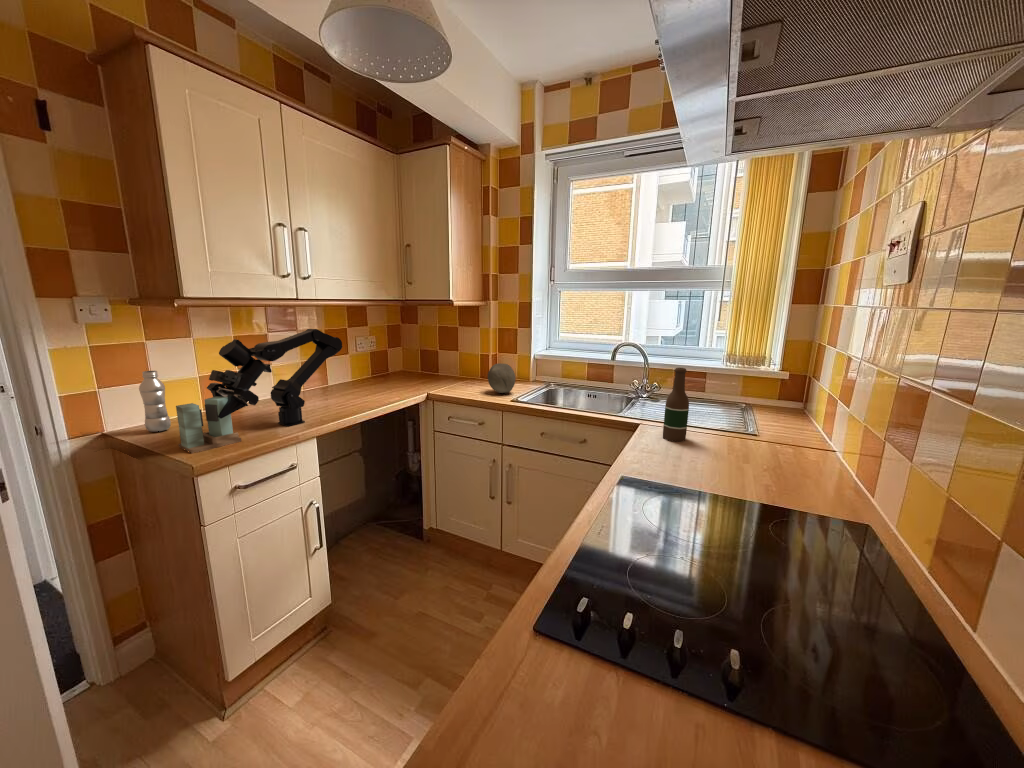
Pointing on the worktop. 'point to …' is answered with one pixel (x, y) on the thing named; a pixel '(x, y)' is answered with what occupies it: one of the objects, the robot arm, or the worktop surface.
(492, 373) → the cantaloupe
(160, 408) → the plastic bottle
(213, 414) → the block
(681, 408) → the beer bottle
